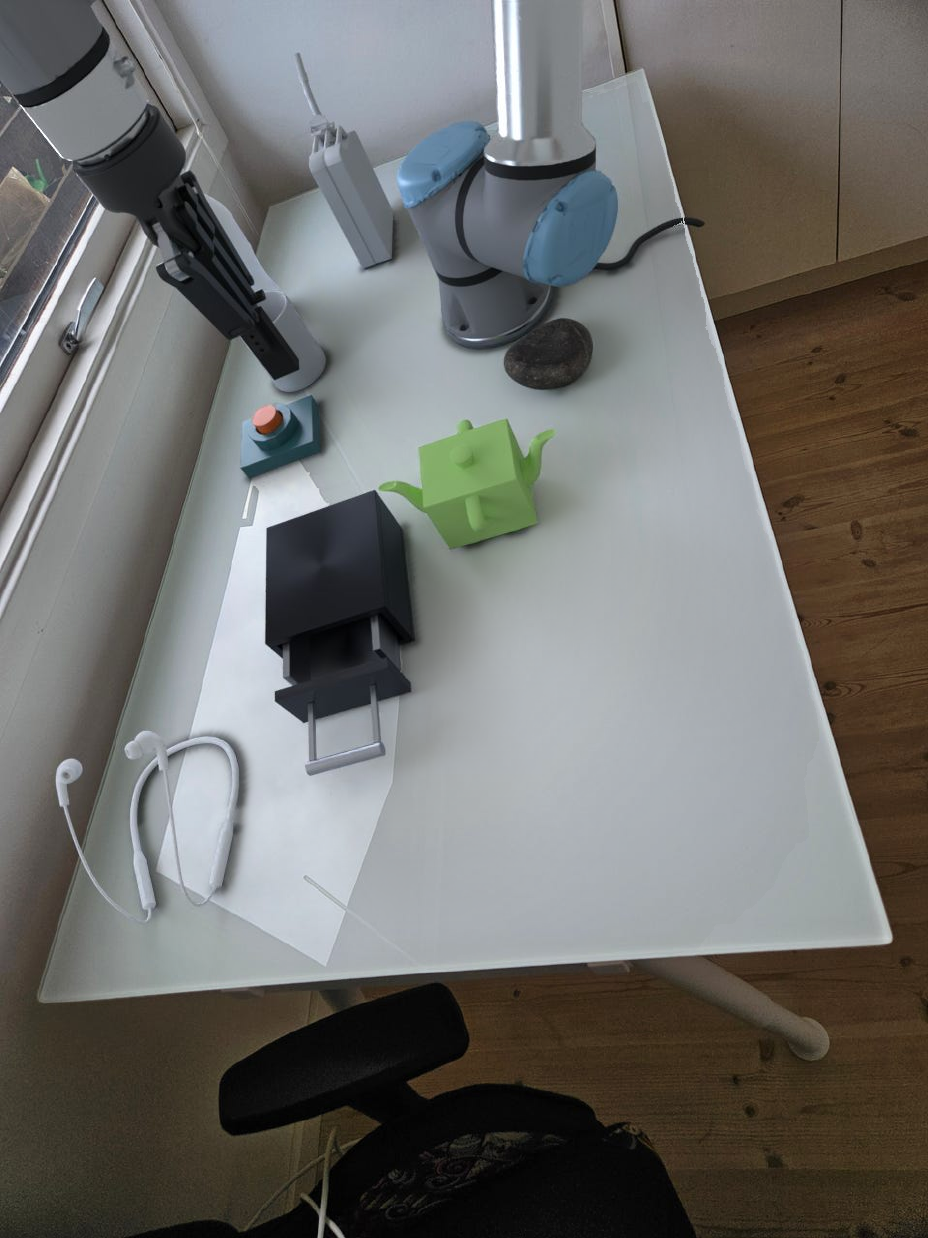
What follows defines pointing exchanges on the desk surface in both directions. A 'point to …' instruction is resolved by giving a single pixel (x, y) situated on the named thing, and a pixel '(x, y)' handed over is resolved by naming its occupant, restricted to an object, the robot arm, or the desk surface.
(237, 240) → the water bottle
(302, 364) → the mug
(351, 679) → the drawer
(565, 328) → the stone
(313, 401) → the stop button base
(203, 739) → the earphone
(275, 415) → the stop button
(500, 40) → the robot arm
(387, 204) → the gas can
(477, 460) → the teapot
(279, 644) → the black box
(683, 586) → the desk surface
